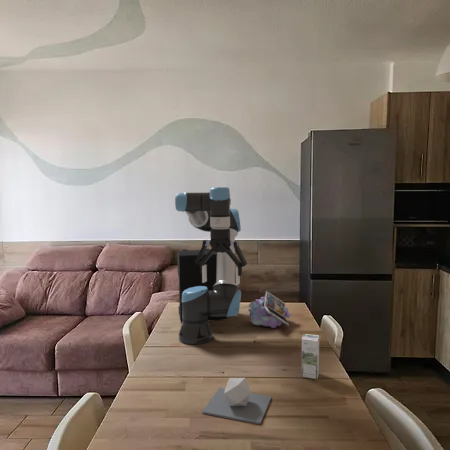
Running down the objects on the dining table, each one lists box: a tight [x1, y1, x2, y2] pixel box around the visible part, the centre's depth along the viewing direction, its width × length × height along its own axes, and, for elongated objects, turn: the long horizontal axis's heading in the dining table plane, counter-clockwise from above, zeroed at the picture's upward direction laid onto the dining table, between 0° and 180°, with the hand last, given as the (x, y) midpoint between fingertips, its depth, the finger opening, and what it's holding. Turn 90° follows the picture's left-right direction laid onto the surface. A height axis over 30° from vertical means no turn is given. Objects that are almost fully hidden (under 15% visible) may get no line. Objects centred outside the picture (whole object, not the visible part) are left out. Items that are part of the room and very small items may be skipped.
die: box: [224, 377, 252, 406], centre depth 121 cm, size 8×9×10 cm
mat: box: [201, 387, 272, 425], centre depth 122 cm, size 18×15×1 cm
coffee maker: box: [176, 248, 228, 323], centre depth 208 cm, size 28×20×35 cm
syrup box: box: [301, 333, 320, 380], centre depth 140 cm, size 6×6×14 cm
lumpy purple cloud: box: [247, 290, 292, 329], centre depth 195 cm, size 20×22×18 cm
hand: (220, 283), depth 149 cm, fingers open, 13 cm apart
